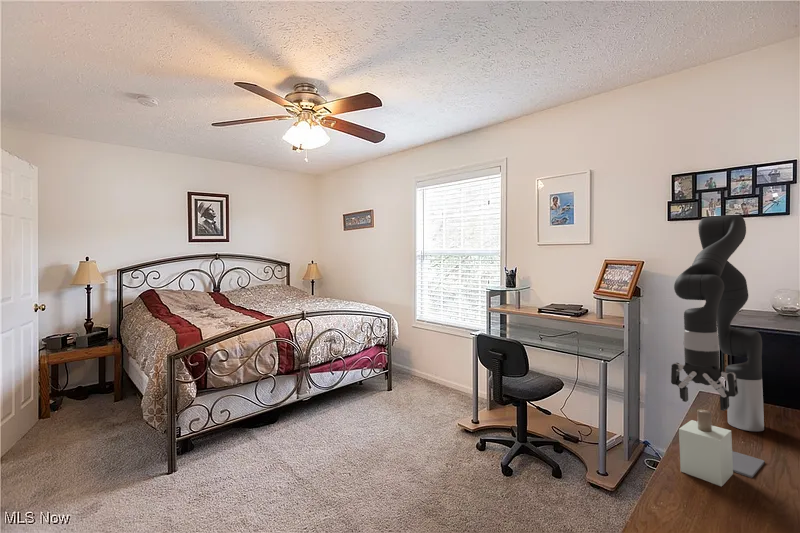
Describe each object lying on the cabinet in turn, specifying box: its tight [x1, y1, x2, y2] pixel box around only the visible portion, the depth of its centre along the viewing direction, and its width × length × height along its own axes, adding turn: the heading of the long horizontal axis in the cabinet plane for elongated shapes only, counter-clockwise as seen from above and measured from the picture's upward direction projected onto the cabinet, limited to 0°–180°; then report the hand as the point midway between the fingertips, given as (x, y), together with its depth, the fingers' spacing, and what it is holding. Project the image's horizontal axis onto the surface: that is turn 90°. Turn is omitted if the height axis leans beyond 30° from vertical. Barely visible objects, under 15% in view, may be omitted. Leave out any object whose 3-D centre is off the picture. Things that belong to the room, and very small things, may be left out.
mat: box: [732, 450, 765, 479], centre depth 108 cm, size 12×12×1 cm
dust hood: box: [678, 409, 734, 488], centre depth 103 cm, size 9×9×17 cm
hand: (703, 405), depth 103 cm, fingers open, 8 cm apart
